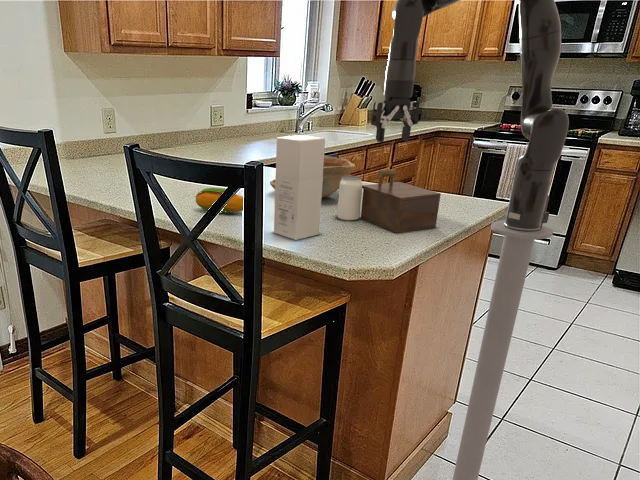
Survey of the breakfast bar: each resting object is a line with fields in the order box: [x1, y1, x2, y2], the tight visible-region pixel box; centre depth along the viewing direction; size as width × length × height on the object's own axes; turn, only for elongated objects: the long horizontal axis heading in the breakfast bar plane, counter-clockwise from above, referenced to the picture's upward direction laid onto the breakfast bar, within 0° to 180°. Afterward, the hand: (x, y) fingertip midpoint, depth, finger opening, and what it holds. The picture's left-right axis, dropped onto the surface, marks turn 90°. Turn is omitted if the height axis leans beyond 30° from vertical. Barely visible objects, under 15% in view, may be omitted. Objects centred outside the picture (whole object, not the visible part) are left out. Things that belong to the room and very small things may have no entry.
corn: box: [195, 187, 244, 214], centre depth 161 cm, size 7×8×20 cm
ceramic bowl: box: [269, 155, 356, 199], centre depth 181 cm, size 30×27×15 cm
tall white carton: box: [273, 134, 326, 241], centre depth 137 cm, size 9×9×25 cm
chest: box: [360, 188, 441, 234], centre depth 150 cm, size 17×14×9 cm
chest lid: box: [362, 168, 442, 201], centre depth 147 cm, size 18×14×5 cm
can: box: [337, 175, 363, 222], centre depth 154 cm, size 6×6×12 cm
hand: (392, 141), depth 147 cm, fingers open, 8 cm apart
